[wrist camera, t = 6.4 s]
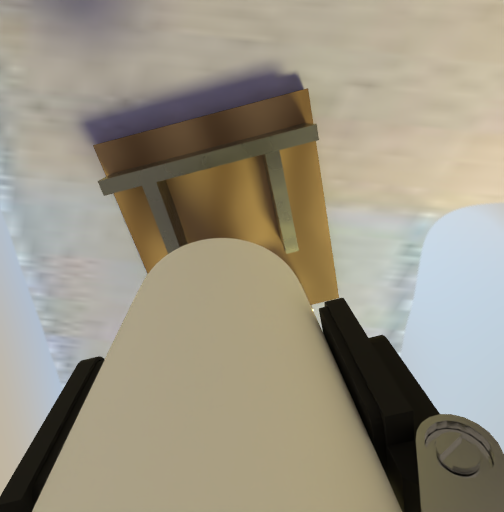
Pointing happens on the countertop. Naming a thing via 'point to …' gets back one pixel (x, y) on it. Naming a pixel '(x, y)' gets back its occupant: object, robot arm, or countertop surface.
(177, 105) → the countertop surface
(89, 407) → the can
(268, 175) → the can holder
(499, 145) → the countertop surface
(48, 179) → the countertop surface
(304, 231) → the rail board
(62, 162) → the countertop surface
